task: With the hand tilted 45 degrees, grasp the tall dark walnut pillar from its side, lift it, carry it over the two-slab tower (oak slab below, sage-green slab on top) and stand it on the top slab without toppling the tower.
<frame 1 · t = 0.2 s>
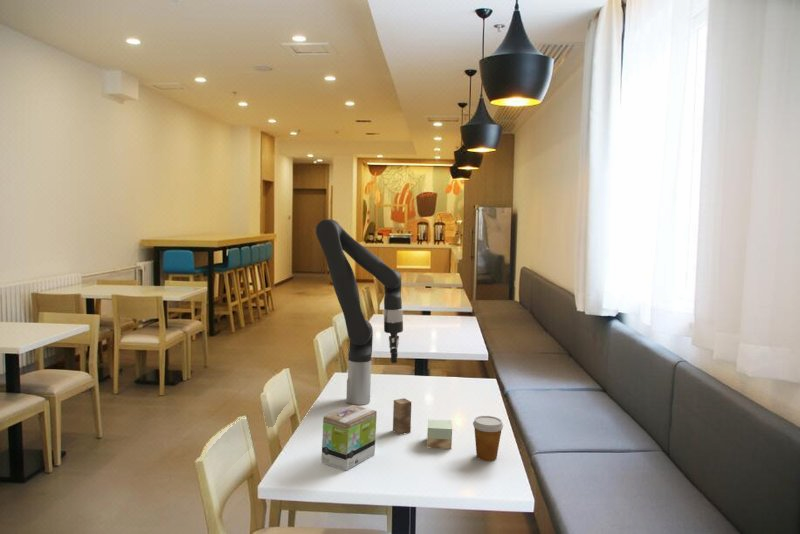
hand: (394, 360, 231), 18 cm above the table, tool pointing down, fingers open, 8 cm apart
sage slab: (439, 434, 193), point 3 cm above the table
oak slab: (439, 444, 193), on the table
tea box: (348, 459, 178), on the table
disposable coffee cup: (486, 457, 183), on the table
walnut pillar: (401, 431, 203), on the table
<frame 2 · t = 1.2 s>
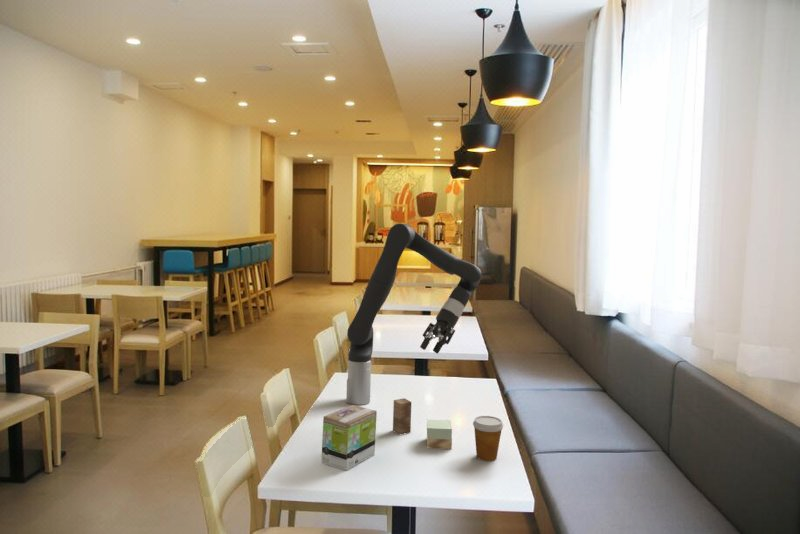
hand: (428, 350, 209), 27 cm above the table, tool tilted 35°, fingers open, 8 cm apart
sage slab: (438, 434, 193), point 3 cm above the table, touching oak slab
oak slab: (439, 444, 193), on the table, touching sage slab
everything else where it was.
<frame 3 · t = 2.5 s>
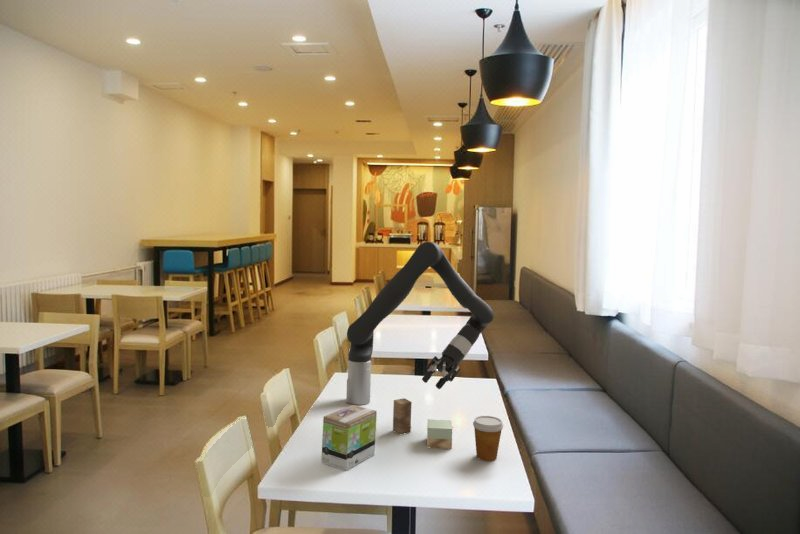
hand: (430, 384, 207), 15 cm above the table, tool tilted 45°, fingers open, 8 cm apart
nothing on the table moved.
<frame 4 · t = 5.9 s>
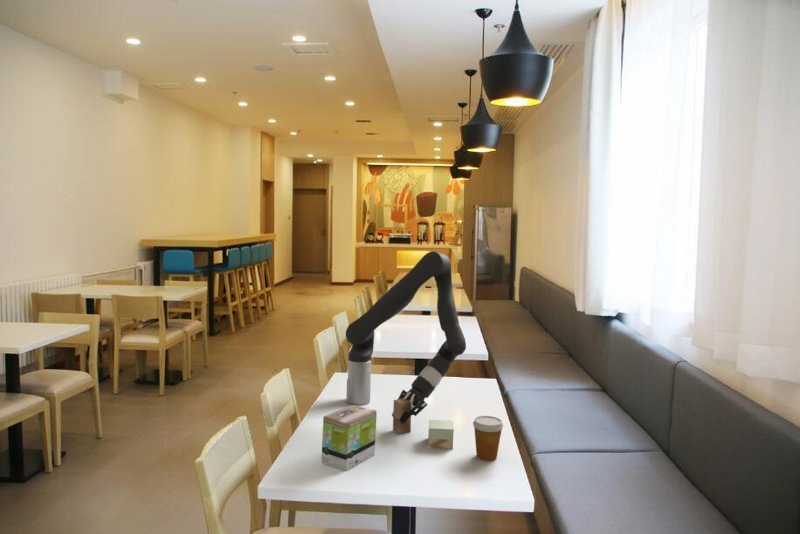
hand: (397, 419, 201), 5 cm above the table, tool tilted 45°, fingers closed on walnut pillar, 4 cm apart
walnut pillar: (401, 431, 203), on the table, touching gripper
everything else where it was.
when the fingers open (13 cm above the table, at t = 9.6 s): walnut pillar drops 2 cm, resting on sage slab.
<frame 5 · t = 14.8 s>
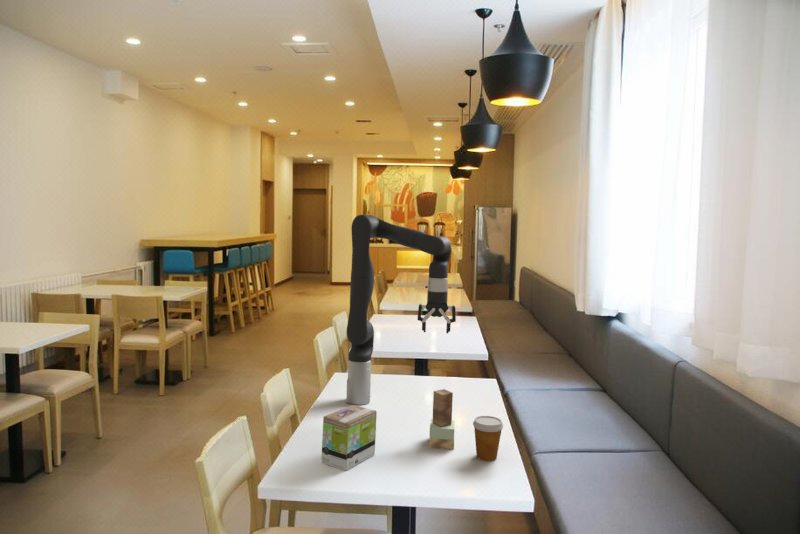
hand: (436, 332, 217), 32 cm above the table, tool pointing down, fingers open, 8 cm apart
sage slab: (441, 434, 193), point 3 cm above the table, touching oak slab, walnut pillar
walnut pillar: (441, 424, 193), point 7 cm above the table, touching sage slab
everything else where it was.
at the end: walnut pillar 0.1 cm off-centre on the sage slab, point 3.5 cm above the sage slab's base; walnut pillar tilted 0°; sage slab 0.3 cm off-centre on the oak slab, point 3.5 cm above the oak slab's base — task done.
